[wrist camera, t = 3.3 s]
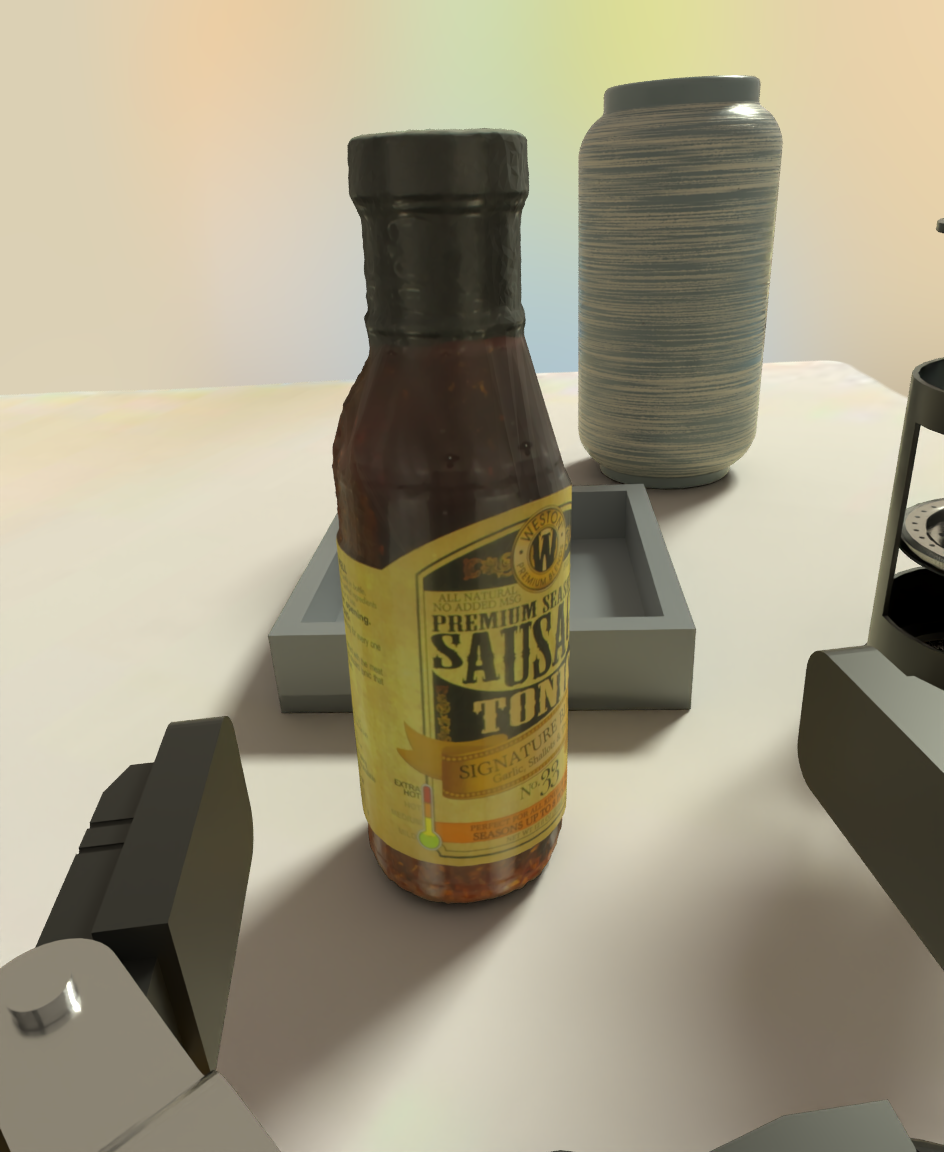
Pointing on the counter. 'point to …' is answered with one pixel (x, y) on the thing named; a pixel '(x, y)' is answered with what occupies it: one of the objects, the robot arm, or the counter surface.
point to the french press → (914, 547)
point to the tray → (596, 617)
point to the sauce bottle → (452, 525)
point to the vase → (675, 277)
